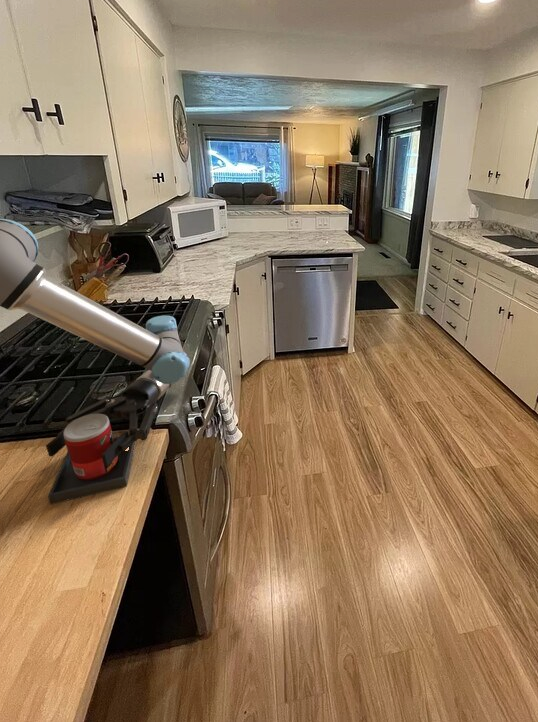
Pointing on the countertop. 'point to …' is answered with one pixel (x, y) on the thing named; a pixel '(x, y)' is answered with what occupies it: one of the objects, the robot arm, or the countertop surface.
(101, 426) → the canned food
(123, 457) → the tray
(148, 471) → the countertop surface
